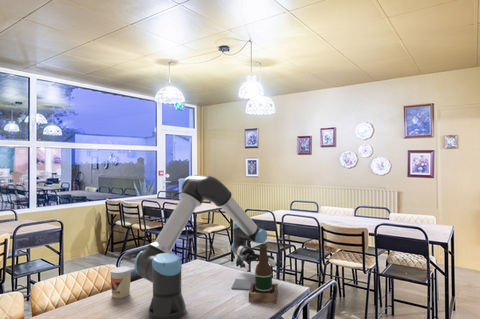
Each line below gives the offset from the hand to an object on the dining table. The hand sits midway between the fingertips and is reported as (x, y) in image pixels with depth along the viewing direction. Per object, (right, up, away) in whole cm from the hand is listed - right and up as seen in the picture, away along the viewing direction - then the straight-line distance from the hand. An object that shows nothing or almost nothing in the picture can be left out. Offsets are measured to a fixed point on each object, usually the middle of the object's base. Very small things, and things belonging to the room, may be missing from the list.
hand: (261, 266), depth 149 cm
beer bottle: (+1, -13, -4) cm, 14 cm away
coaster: (-8, -13, +11) cm, 19 cm away
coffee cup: (-67, -14, +1) cm, 68 cm away
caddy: (+1, -13, -4) cm, 14 cm away
